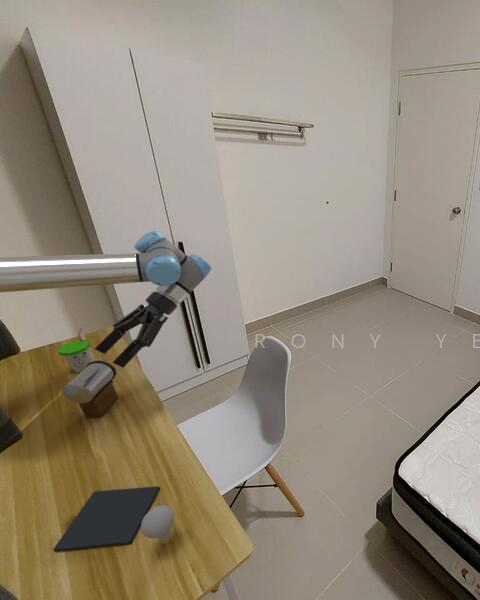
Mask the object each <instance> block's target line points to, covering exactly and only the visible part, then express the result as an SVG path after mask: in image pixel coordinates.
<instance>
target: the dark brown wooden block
mask: <svg viewBox="0 0 480 600" xmlns="http://www.w3.org/2000/svg"><path fill="white" fill-rule="evenodd" d="M118 399H119V396H118V393H117V391H116V389H115V387H114V379H112V380H110V381H109V382H108V383H107V384H106V385H105V386H104V387H103V389H102V390H101V391H100V392H99V393H98V394H97V395H96V396H95V397H94V398H93V399H92V400H91V401H90V402H88V403H78V405H79V407H80V409H81V411H82V412H83V414H84V416H85V418H86V419H98V418H99V419H101V418H103V417H104V415H105V414H106V413H107V412H108V411H109V410H110V408H111V407H112V406H113V405H114V404H115V403H116V402H117V401H118Z"/></svg>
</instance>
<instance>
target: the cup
mask: <svg viewBox="0 0 480 600" xmlns="http://www.w3.org/2000/svg"><path fill="white" fill-rule="evenodd" d="M82 330H83V328H82V327H80V328H79V329H78V332H77V338H78V339H77V340H72V341H69V342H67V343H65V344H62V345H61V346H60V347H59V348H58V349H57V350H58V352H57V353H58V354H59V355H60V356H62V357H63V358H64V359H65V361H66V362H67V364H69V366H70V367H71V368H72V370H73V371H74V372H76V373H78V374H77V375H79V374H80V373H81V372H82V371H83V370H84V369H85V368H86V366H87V365H88V364H89V363H90V362H92V361H94V360H93V355H92V351H91V341H90V340H87V339H83V338H82V336H81V333H82Z"/></svg>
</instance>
